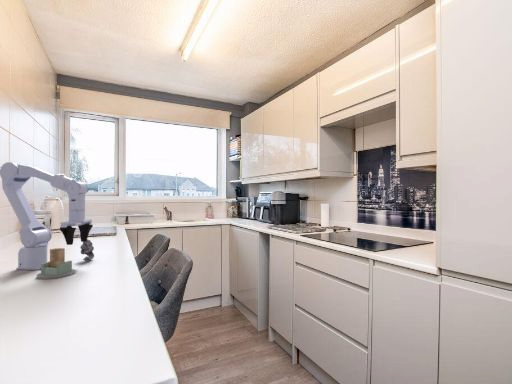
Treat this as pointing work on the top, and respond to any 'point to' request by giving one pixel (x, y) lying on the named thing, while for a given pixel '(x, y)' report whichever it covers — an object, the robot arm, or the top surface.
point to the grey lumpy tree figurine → (87, 250)
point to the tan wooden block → (57, 256)
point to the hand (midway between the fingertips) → (76, 243)
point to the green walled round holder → (56, 270)
